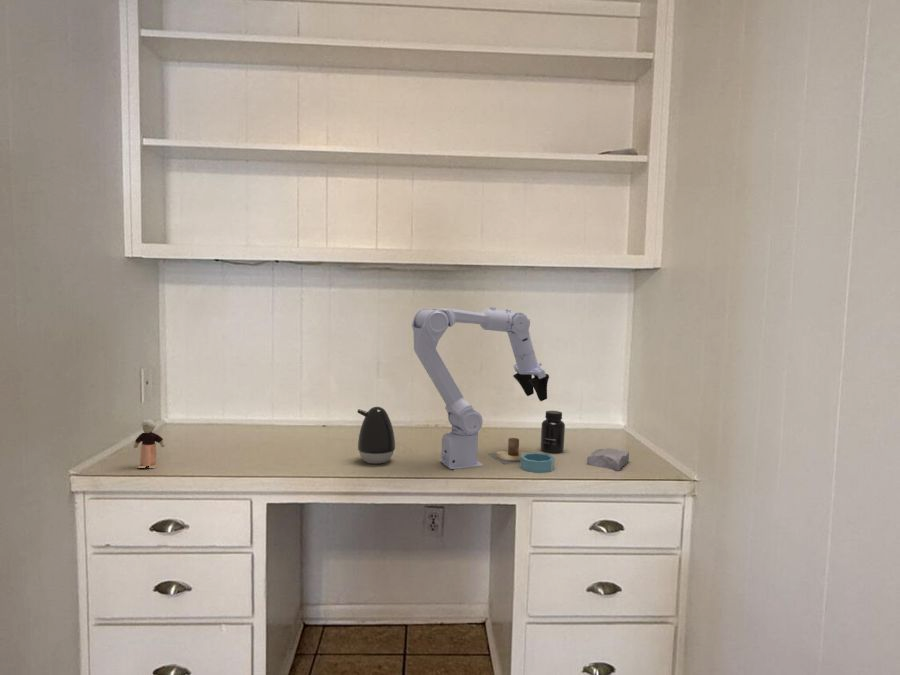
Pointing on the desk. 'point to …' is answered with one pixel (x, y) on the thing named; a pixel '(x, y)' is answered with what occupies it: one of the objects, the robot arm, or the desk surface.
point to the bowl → (537, 462)
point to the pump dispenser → (376, 436)
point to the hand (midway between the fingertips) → (536, 397)
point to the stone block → (608, 458)
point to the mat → (501, 460)
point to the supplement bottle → (552, 433)
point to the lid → (511, 451)
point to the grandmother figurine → (148, 443)
